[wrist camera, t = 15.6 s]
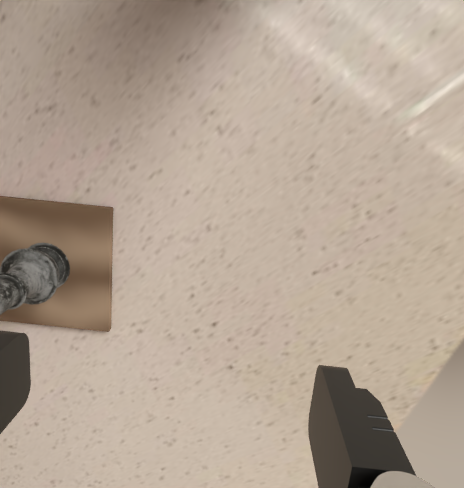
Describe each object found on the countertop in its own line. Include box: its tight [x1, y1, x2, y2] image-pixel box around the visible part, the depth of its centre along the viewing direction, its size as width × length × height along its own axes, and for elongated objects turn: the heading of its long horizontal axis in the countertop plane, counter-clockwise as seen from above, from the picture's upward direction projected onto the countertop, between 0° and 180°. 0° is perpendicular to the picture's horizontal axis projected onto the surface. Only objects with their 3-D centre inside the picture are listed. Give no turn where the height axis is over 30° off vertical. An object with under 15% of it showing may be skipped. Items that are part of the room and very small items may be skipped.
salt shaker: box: [0, 243, 70, 315], centre depth 38 cm, size 6×6×12 cm
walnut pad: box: [0, 196, 113, 332], centre depth 45 cm, size 14×14×1 cm
